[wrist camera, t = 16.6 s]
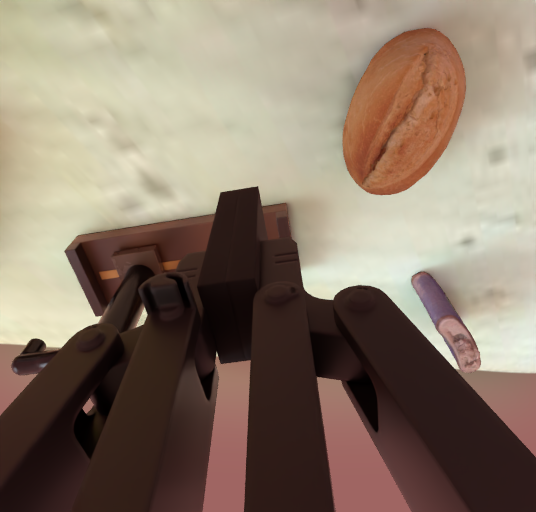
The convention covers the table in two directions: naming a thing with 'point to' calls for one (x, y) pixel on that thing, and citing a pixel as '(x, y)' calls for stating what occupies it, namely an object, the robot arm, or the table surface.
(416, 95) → the bread roll
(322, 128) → the table surface
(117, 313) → the tap
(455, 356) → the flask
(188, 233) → the rail
